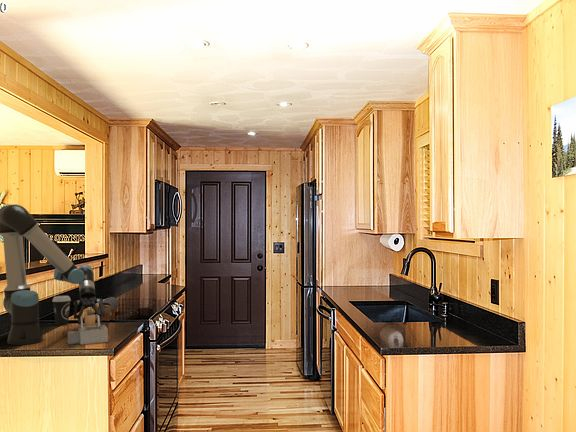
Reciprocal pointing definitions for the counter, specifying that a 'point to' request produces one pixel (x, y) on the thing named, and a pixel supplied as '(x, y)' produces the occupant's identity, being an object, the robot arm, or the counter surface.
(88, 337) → the motor housing
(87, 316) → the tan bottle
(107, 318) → the tin
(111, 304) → the bluetooth speaker
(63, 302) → the coffee cup
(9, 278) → the robot arm
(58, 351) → the counter surface
